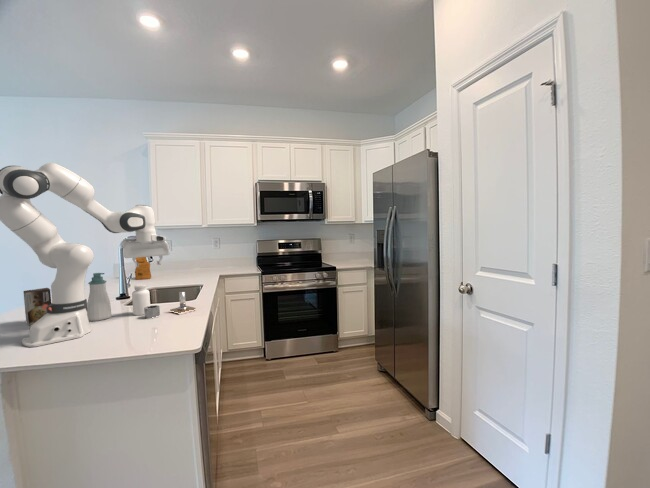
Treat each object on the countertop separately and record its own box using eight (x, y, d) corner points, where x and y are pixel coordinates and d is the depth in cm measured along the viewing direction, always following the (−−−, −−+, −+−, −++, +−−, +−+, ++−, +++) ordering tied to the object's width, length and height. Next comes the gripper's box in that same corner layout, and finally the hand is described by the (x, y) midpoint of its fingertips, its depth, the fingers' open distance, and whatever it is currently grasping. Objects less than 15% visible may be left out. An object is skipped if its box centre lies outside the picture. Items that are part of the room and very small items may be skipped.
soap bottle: (99, 321, 153) (96, 274, 152) (82, 321, 155) (79, 274, 154) (116, 316, 163) (113, 271, 161) (100, 315, 165) (97, 271, 163)
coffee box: (50, 319, 159) (48, 287, 158) (53, 321, 155) (50, 288, 154) (25, 323, 152) (23, 290, 151) (28, 326, 148) (25, 292, 147)
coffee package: (136, 278, 283) (134, 253, 281) (152, 277, 287) (150, 253, 286) (134, 280, 274) (132, 254, 272) (150, 279, 278) (149, 254, 277)
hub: (149, 319, 156) (148, 309, 155) (143, 317, 159) (142, 307, 159) (161, 316, 161) (161, 306, 160) (155, 314, 164) (155, 304, 164)
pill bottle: (131, 316, 162) (129, 287, 161) (135, 312, 169) (134, 284, 168) (148, 314, 164) (146, 286, 163) (152, 310, 171) (150, 283, 170)
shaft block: (179, 314, 163) (178, 294, 162) (170, 312, 168) (169, 292, 167) (195, 310, 170) (194, 291, 169) (186, 308, 175) (185, 289, 175)
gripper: (121, 239, 150) (123, 268, 151) (169, 237, 160) (171, 264, 161) (121, 239, 155) (123, 267, 156) (168, 236, 165) (170, 263, 167)
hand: (148, 265), depth 159 cm, fingers open, 8 cm apart
